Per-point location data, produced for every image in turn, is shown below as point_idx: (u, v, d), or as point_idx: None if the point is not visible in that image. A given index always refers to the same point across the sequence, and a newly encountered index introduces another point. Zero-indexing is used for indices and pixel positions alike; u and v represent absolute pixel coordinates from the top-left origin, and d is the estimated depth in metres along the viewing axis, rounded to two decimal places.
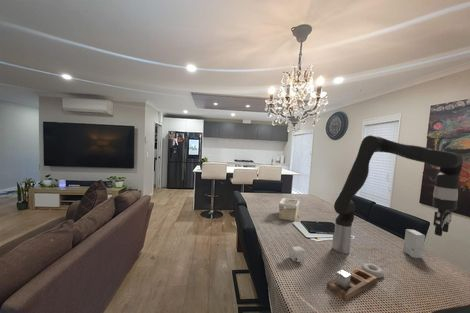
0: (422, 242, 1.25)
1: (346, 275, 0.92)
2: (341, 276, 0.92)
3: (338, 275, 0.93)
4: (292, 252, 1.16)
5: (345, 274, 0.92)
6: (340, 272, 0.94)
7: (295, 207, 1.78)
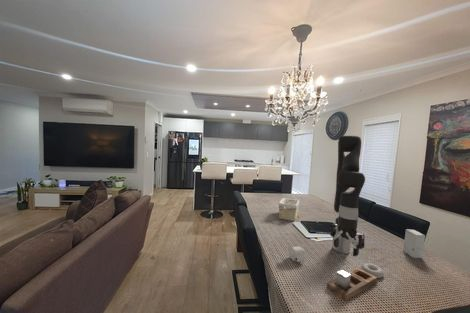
0: (422, 242, 1.25)
1: (346, 275, 0.92)
2: (341, 276, 0.92)
3: (338, 275, 0.93)
4: (292, 252, 1.16)
5: (345, 274, 0.92)
6: (340, 272, 0.94)
7: (295, 207, 1.78)
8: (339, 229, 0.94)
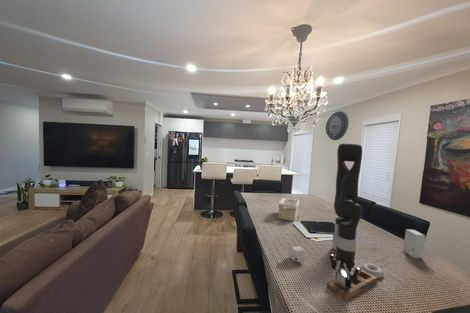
0: (422, 242, 1.25)
1: (346, 275, 0.92)
2: (341, 276, 0.92)
3: (338, 275, 0.93)
4: (292, 252, 1.16)
5: (345, 274, 0.92)
6: (340, 272, 0.94)
7: (295, 207, 1.78)
8: (337, 258, 0.94)
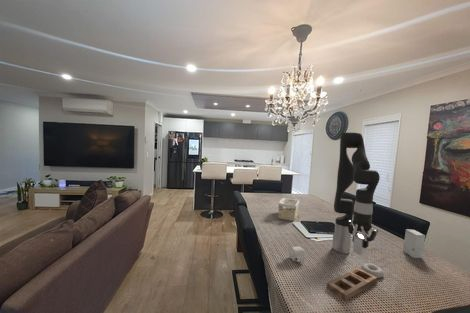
0: (422, 242, 1.25)
1: (363, 237, 0.98)
2: (358, 238, 0.98)
3: (355, 238, 0.99)
4: (292, 252, 1.16)
5: (362, 237, 0.98)
6: (357, 235, 1.00)
7: (294, 207, 1.78)
8: (354, 223, 1.01)
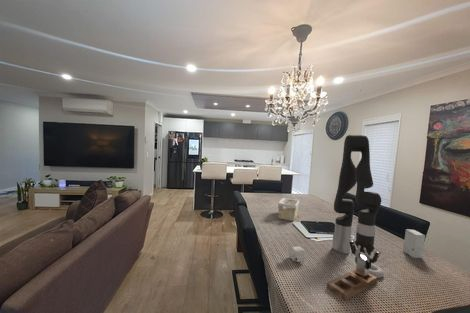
0: (422, 242, 1.25)
1: (366, 258, 0.99)
2: (361, 259, 1.00)
3: (358, 259, 1.01)
4: (292, 252, 1.16)
5: (365, 258, 1.00)
6: (360, 256, 1.01)
7: (294, 207, 1.78)
8: (357, 244, 1.02)
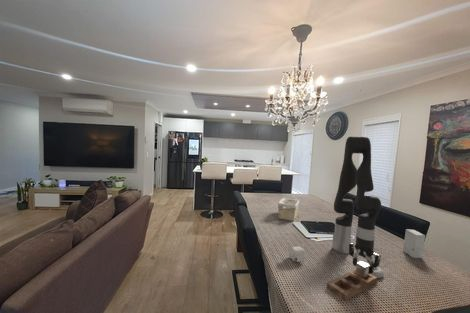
0: (422, 242, 1.25)
1: (365, 265, 1.00)
2: (361, 266, 1.00)
3: (358, 266, 1.01)
4: (292, 252, 1.16)
5: (364, 265, 1.00)
6: (359, 263, 1.02)
7: (294, 207, 1.78)
8: (357, 248, 1.03)
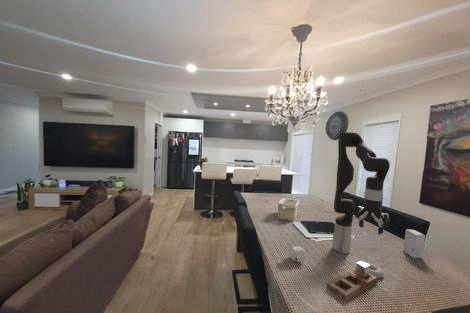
0: (422, 242, 1.25)
1: (365, 265, 1.00)
2: (361, 266, 1.00)
3: (358, 266, 1.01)
4: (292, 252, 1.16)
5: (364, 265, 1.00)
6: (359, 263, 1.02)
7: (294, 207, 1.78)
8: (364, 210, 1.03)
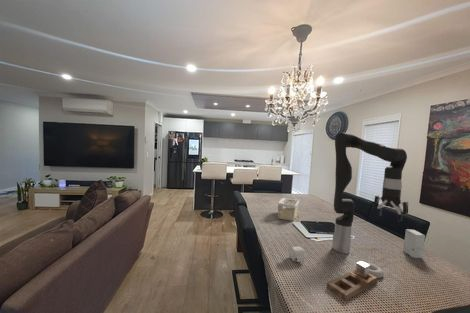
0: (422, 242, 1.25)
1: (365, 265, 1.00)
2: (361, 266, 1.00)
3: (358, 266, 1.01)
4: (292, 252, 1.16)
5: (364, 265, 1.00)
6: (359, 263, 1.02)
7: (294, 207, 1.78)
8: (383, 199, 1.07)
